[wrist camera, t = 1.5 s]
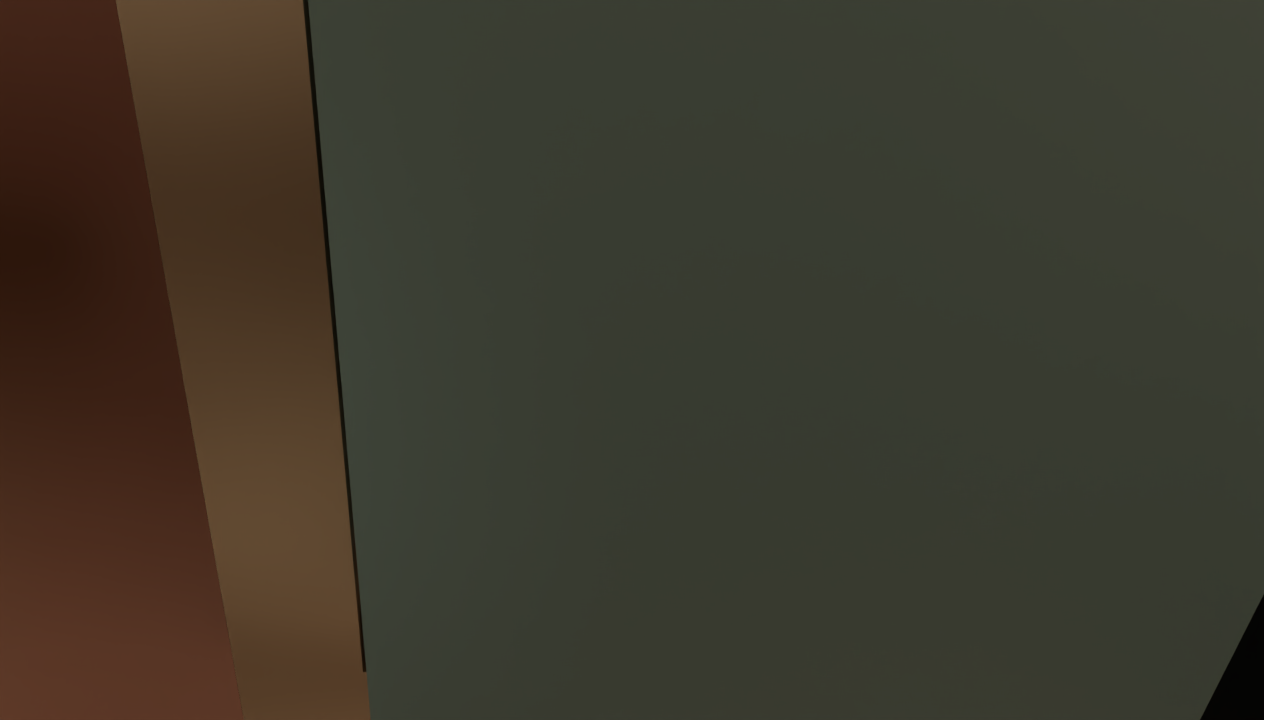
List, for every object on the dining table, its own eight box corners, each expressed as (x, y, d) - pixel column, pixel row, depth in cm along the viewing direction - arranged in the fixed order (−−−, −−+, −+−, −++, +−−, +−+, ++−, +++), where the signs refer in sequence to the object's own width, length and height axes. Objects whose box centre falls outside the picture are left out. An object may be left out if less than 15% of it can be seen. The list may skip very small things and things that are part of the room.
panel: (590, 483, 16) (868, 1371, 8) (376, 503, 15) (437, 1497, 7) (640, -338, 11) (1673, -210, 3) (313, -363, 10) (277, -300, 2)
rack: (695, 600, 18) (733, 698, 16) (259, 651, 16) (252, 766, 15) (864, -662, 10) (975, -719, 8) (29, -790, 8) (-43, -891, 7)
